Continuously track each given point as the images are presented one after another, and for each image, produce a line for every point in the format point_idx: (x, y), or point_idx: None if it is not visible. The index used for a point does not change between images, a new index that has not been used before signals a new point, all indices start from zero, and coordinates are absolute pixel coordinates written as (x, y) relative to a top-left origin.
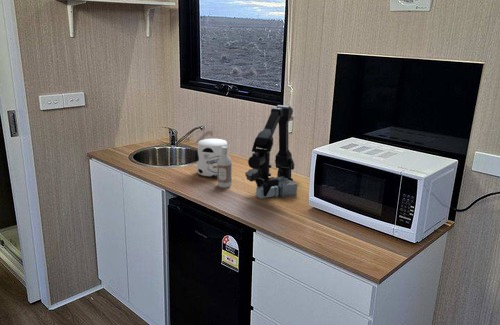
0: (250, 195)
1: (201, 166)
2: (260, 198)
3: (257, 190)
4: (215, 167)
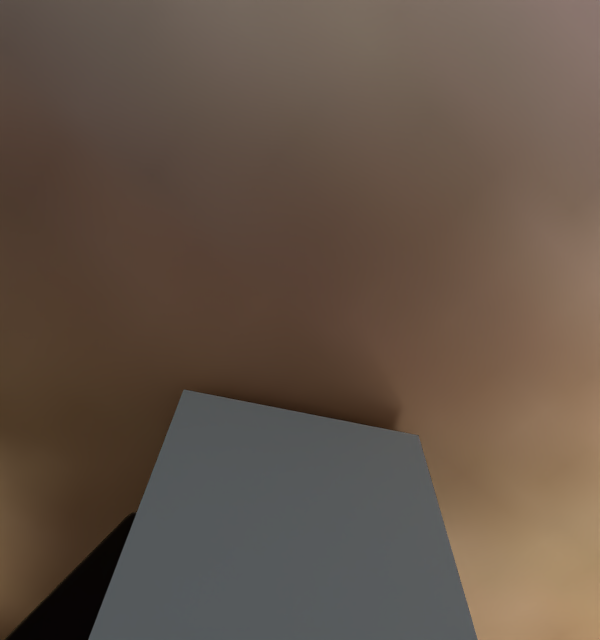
0: (586, 370)
1: None
2: (185, 394)
3: (372, 589)
4: None
